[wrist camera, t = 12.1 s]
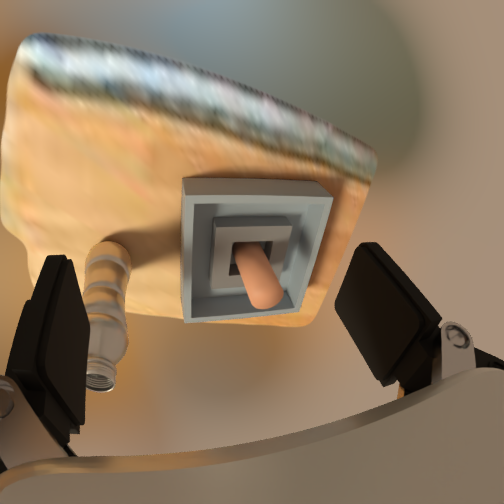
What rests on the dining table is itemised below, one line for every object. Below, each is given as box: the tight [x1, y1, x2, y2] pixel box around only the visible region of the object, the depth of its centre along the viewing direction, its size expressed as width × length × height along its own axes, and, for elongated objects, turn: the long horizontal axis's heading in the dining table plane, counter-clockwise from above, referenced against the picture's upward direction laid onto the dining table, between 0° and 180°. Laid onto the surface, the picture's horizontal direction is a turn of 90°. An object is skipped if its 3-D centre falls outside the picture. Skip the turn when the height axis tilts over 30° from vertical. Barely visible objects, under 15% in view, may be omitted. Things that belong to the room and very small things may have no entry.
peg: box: [232, 241, 284, 309], centre depth 40 cm, size 4×4×10 cm
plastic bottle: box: [82, 241, 132, 392], centre depth 32 cm, size 6×7×20 cm
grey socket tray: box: [181, 178, 334, 323], centre depth 43 cm, size 20×18×5 cm
